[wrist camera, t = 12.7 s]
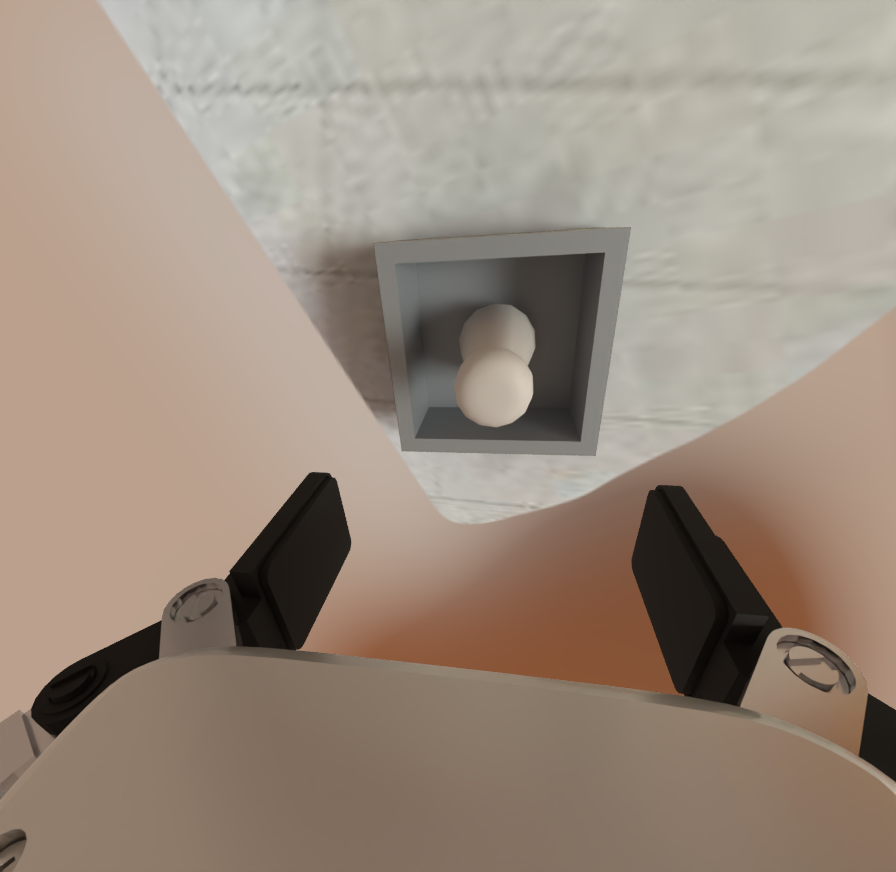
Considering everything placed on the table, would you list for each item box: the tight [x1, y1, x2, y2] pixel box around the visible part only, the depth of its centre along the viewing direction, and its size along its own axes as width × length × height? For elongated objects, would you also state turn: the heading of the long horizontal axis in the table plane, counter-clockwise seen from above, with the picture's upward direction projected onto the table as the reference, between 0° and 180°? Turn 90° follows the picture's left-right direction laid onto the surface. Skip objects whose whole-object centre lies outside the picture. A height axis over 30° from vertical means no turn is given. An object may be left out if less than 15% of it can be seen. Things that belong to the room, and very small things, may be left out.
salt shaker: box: [454, 304, 536, 427], centre depth 25 cm, size 6×6×13 cm
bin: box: [374, 227, 631, 456], centre depth 29 cm, size 15×15×7 cm
